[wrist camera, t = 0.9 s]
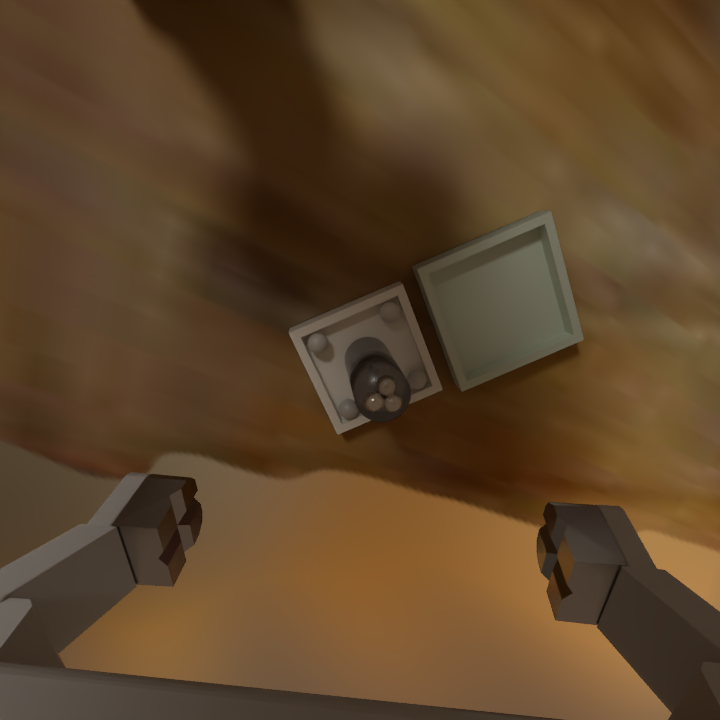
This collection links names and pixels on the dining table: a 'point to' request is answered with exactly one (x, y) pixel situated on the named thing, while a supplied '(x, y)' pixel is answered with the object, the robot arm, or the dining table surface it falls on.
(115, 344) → the dining table surface
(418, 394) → the tray
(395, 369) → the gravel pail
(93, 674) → the robot arm
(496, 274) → the bin
